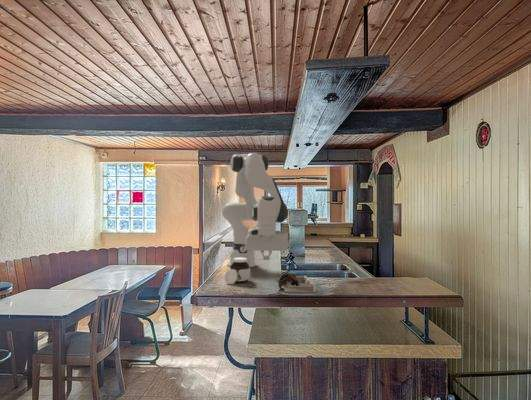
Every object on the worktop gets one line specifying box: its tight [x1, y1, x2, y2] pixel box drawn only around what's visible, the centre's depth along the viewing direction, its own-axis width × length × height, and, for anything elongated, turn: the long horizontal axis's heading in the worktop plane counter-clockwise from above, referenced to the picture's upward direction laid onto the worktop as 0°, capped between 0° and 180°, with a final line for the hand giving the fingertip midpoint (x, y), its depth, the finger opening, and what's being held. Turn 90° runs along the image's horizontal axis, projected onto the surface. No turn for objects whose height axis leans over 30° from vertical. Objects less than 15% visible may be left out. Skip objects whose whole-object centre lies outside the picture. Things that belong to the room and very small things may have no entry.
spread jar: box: [224, 257, 251, 285], centre depth 174 cm, size 12×11×12 cm
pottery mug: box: [277, 272, 300, 289], centre depth 164 cm, size 12×10×8 cm
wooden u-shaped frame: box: [277, 275, 317, 293], centre depth 167 cm, size 20×15×3 cm
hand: (266, 259), depth 165 cm, fingers closed
